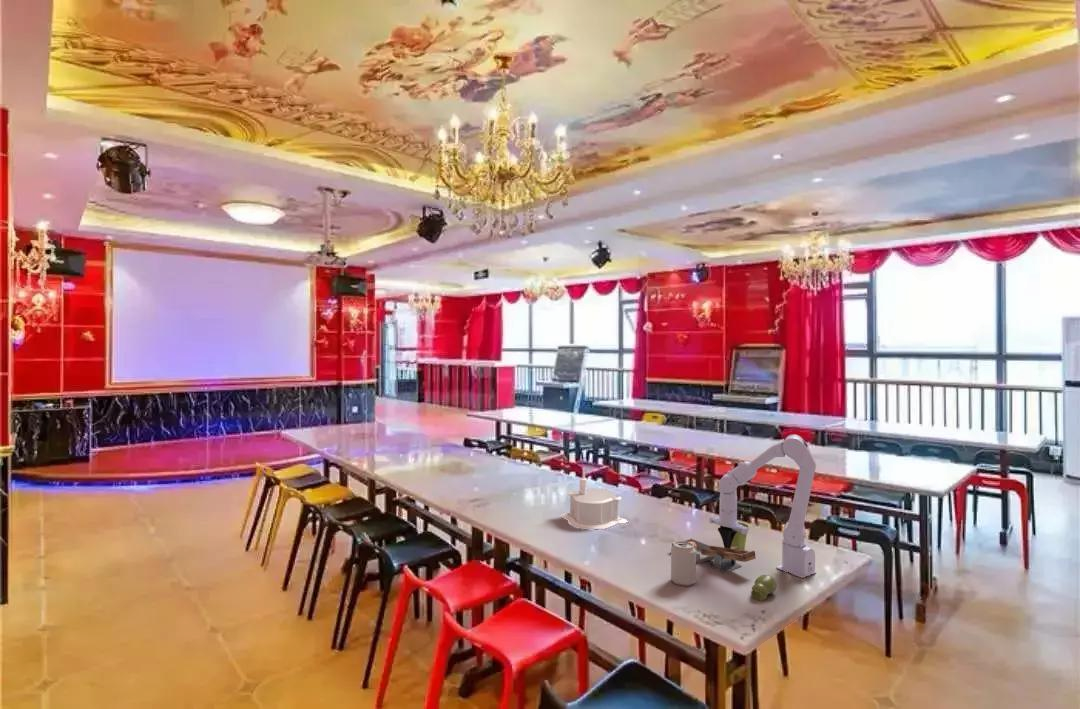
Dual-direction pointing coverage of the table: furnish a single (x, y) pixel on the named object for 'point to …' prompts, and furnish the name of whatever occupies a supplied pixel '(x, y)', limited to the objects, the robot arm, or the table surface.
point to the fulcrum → (723, 564)
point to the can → (683, 563)
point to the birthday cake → (593, 508)
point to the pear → (763, 587)
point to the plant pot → (740, 538)
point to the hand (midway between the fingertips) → (727, 548)
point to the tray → (700, 545)
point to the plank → (730, 553)
